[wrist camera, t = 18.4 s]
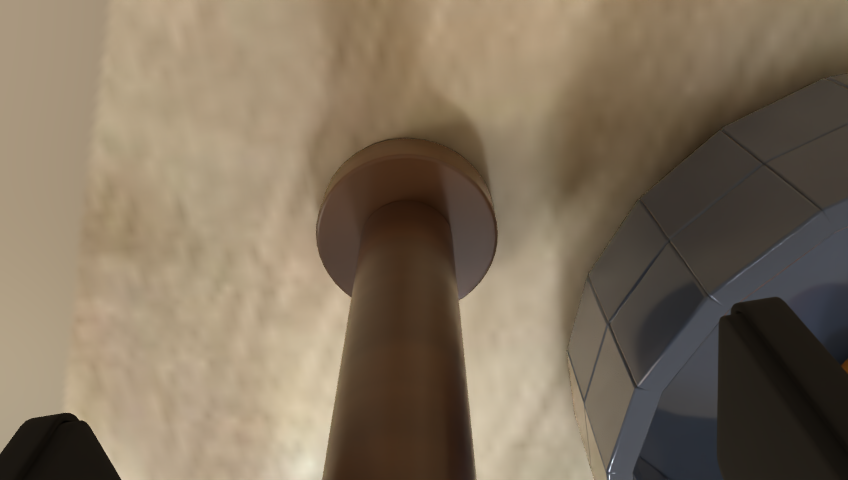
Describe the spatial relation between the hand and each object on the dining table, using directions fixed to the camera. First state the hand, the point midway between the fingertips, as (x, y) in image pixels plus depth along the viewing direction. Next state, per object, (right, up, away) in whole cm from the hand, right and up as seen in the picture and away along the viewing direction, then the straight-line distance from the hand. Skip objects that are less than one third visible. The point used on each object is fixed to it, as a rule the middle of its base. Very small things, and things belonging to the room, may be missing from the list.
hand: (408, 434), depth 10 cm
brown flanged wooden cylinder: (0, +3, +7) cm, 8 cm away
